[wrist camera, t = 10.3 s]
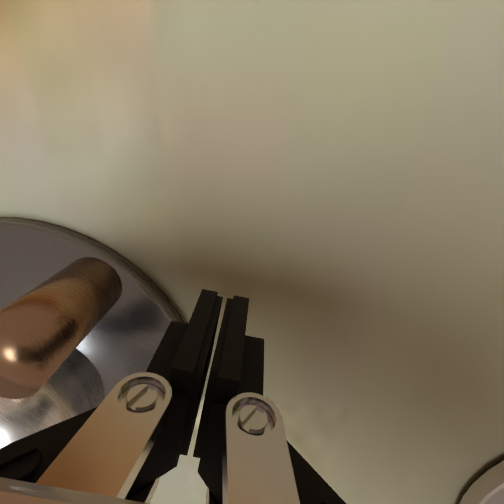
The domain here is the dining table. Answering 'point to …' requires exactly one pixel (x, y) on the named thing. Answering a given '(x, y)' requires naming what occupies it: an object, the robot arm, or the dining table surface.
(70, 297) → the turntable
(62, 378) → the cover
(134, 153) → the dining table surface
